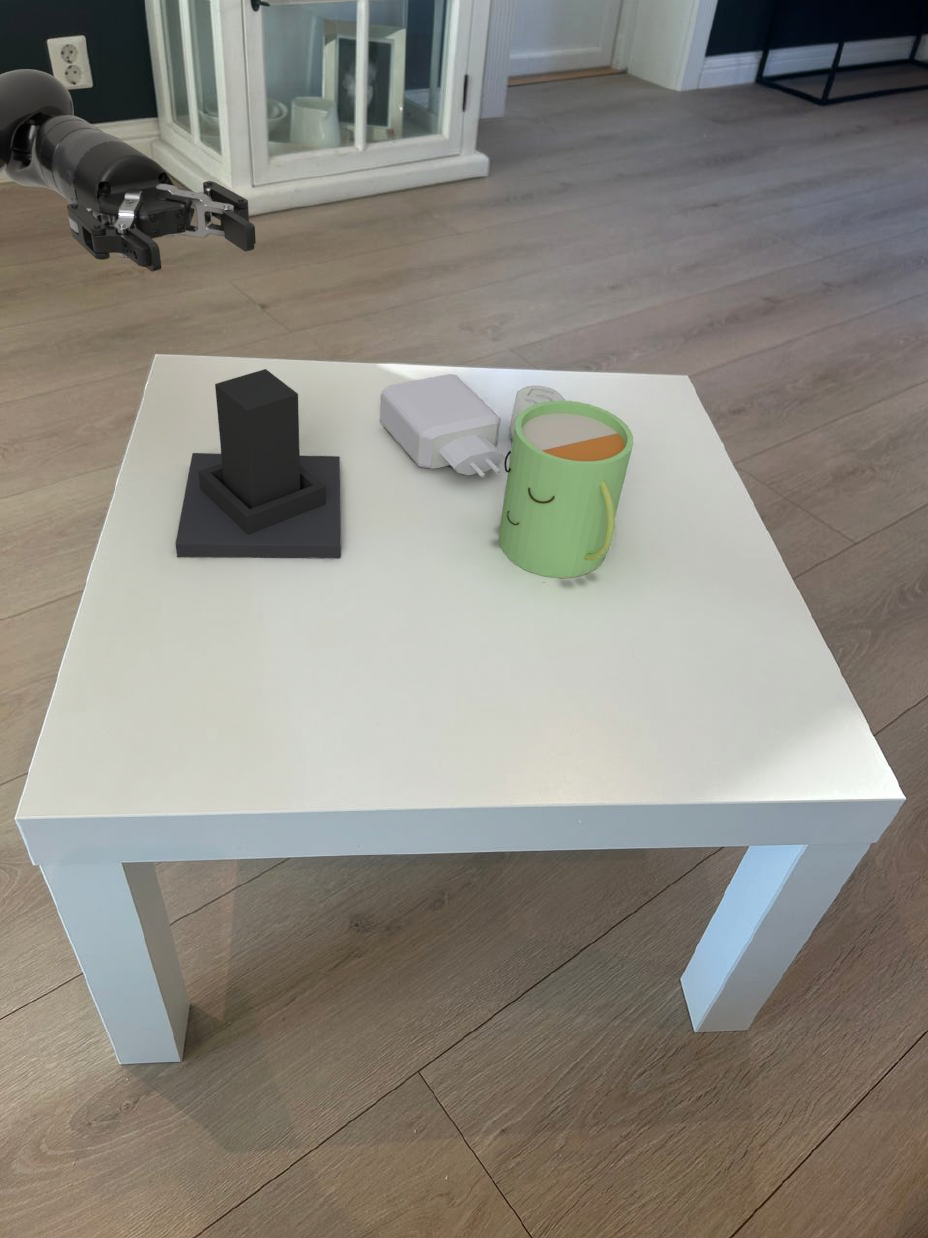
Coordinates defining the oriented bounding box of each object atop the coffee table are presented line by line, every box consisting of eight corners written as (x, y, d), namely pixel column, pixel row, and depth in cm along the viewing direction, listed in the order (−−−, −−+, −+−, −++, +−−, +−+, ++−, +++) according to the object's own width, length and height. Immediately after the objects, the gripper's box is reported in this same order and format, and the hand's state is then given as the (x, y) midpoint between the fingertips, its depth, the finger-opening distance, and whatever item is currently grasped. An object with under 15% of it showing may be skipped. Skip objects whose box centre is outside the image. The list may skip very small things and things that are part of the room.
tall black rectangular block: (253, 518, 86) (246, 409, 78) (224, 491, 88) (214, 383, 81) (301, 500, 88) (298, 393, 81) (271, 474, 91) (265, 368, 84)
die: (559, 430, 105) (566, 389, 101) (553, 455, 101) (561, 413, 97) (514, 422, 105) (520, 381, 102) (506, 446, 101) (512, 404, 98)
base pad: (177, 557, 83) (172, 524, 81) (193, 465, 93) (190, 434, 91) (340, 558, 85) (340, 526, 83) (339, 468, 95) (339, 438, 93)
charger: (446, 505, 93) (379, 426, 102) (527, 484, 96) (455, 410, 106) (450, 463, 89) (380, 386, 99) (534, 444, 93) (459, 371, 102)
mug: (475, 525, 91) (489, 413, 83) (567, 501, 95) (589, 392, 87) (546, 608, 83) (569, 493, 75) (643, 578, 87) (675, 466, 79)
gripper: (188, 214, 93) (281, 276, 85) (42, 240, 85) (128, 312, 77) (180, 130, 88) (278, 187, 80) (24, 150, 80) (114, 216, 72)
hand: (204, 248), depth 78 cm, fingers open, 8 cm apart
